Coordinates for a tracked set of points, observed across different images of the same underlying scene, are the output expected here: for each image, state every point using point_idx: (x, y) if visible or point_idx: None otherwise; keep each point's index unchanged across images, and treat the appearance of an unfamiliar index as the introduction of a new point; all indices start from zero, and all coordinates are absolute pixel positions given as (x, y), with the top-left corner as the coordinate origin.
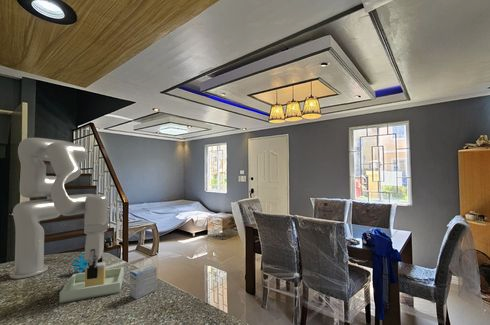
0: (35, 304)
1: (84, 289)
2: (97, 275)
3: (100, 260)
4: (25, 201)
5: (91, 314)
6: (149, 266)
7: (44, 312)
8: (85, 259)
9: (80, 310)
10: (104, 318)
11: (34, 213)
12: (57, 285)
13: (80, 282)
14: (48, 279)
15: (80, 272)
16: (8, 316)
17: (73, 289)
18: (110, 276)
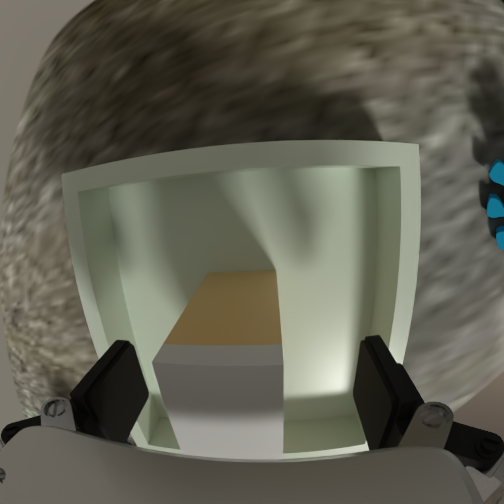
0: (135, 50)
1: (87, 311)
2: (140, 404)
3: (370, 438)
4: None
5: (22, 334)
6: None
7: (45, 147)
8: (12, 444)
9: (36, 296)
10: (15, 366)
11: None
12: (379, 63)
13: (355, 205)
14: (462, 22)
15: (493, 173)
16: (76, 21)
17: (80, 249)
18: None
